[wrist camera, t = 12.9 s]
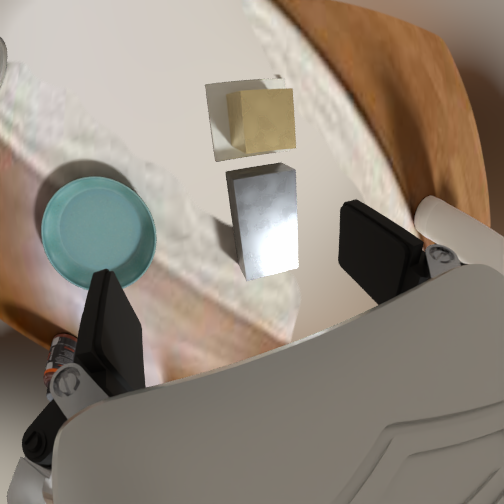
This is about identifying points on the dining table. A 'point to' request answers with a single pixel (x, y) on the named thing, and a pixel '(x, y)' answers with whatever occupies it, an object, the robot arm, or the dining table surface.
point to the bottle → (460, 233)
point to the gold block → (261, 120)
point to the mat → (220, 114)
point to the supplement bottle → (59, 357)
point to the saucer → (98, 231)
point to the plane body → (264, 218)
